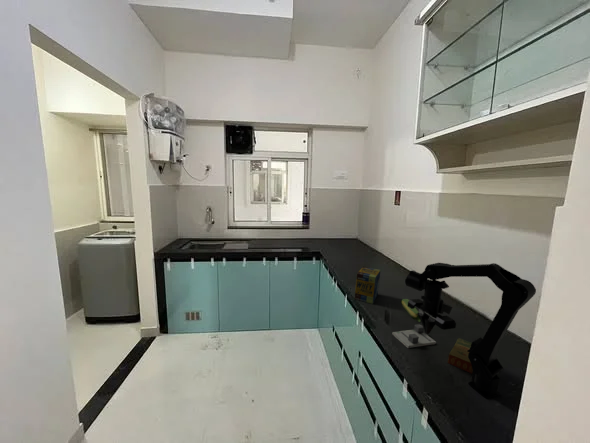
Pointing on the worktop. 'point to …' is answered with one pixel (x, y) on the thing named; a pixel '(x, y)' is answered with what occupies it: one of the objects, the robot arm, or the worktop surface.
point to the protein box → (367, 284)
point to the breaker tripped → (413, 338)
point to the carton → (460, 355)
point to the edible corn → (411, 311)
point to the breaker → (418, 328)
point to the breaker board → (404, 337)
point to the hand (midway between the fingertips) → (427, 333)
